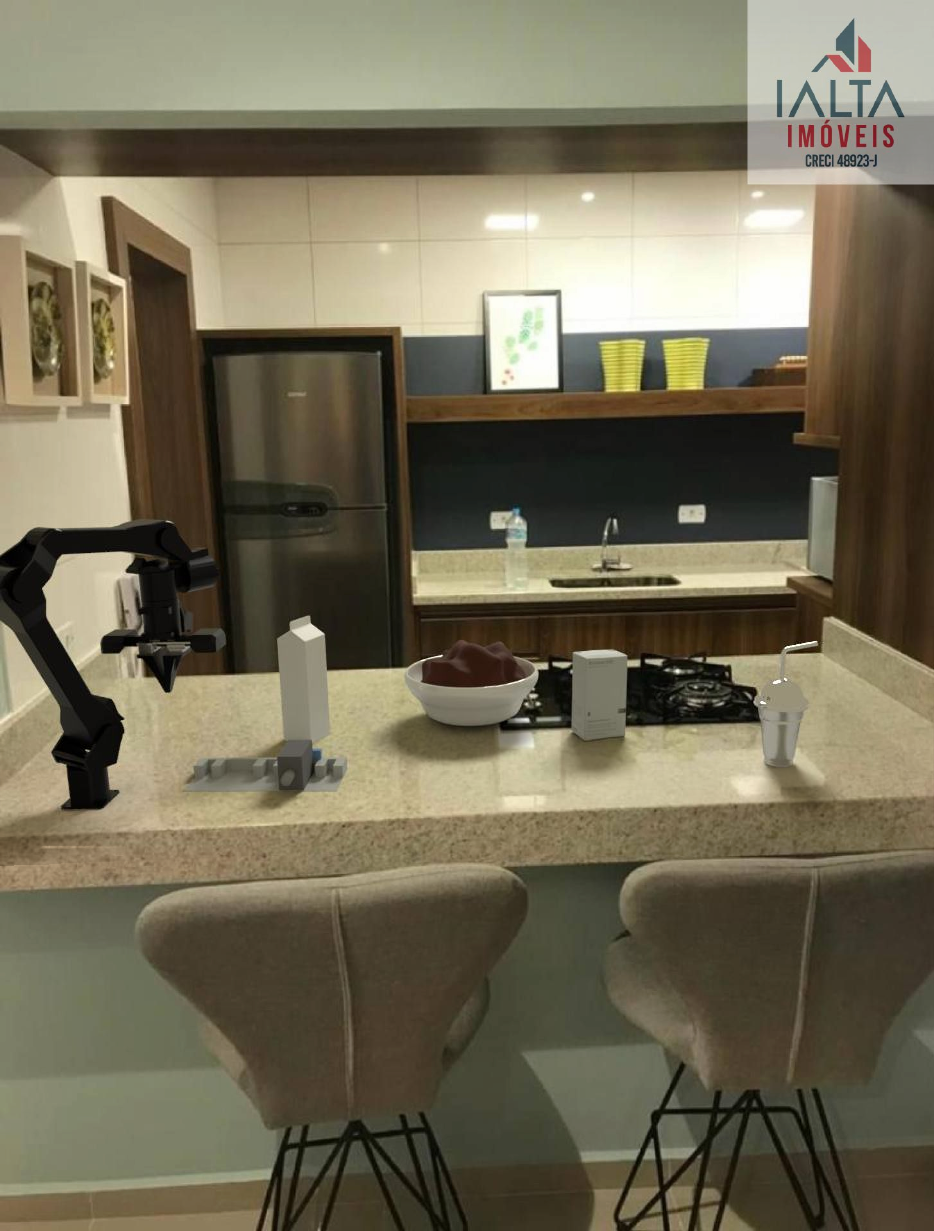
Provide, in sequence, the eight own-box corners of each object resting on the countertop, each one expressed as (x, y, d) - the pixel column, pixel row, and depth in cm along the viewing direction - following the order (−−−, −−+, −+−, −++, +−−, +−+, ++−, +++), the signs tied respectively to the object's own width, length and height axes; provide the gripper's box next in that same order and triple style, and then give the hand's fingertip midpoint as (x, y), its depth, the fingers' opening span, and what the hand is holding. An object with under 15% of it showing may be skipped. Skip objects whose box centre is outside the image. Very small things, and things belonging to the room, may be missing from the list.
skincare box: (584, 742, 164) (584, 659, 161) (570, 731, 170) (570, 651, 166) (627, 736, 166) (628, 654, 163) (612, 725, 172) (613, 646, 169)
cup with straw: (756, 749, 158) (761, 633, 154) (813, 757, 154) (820, 638, 150) (746, 766, 151) (751, 645, 147) (805, 775, 147) (812, 651, 143)
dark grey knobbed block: (299, 798, 142) (297, 763, 141) (274, 798, 142) (272, 763, 141) (313, 771, 152) (311, 739, 151) (290, 772, 152) (288, 739, 151)
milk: (283, 741, 168) (274, 620, 163) (303, 731, 173) (295, 613, 168) (312, 746, 165) (303, 623, 160) (331, 735, 170) (323, 616, 166)
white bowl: (378, 719, 179) (375, 642, 175) (473, 690, 195) (471, 619, 192) (470, 751, 161) (468, 665, 158) (566, 716, 178) (566, 638, 174)
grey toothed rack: (336, 792, 145) (335, 769, 144) (183, 792, 146) (180, 769, 145) (347, 770, 153) (346, 748, 153) (202, 770, 155) (200, 748, 154)
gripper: (232, 588, 158) (239, 677, 161) (123, 589, 159) (132, 678, 162) (211, 601, 147) (219, 697, 150) (94, 602, 148) (104, 698, 151)
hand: (168, 692), depth 154 cm, fingers closed
